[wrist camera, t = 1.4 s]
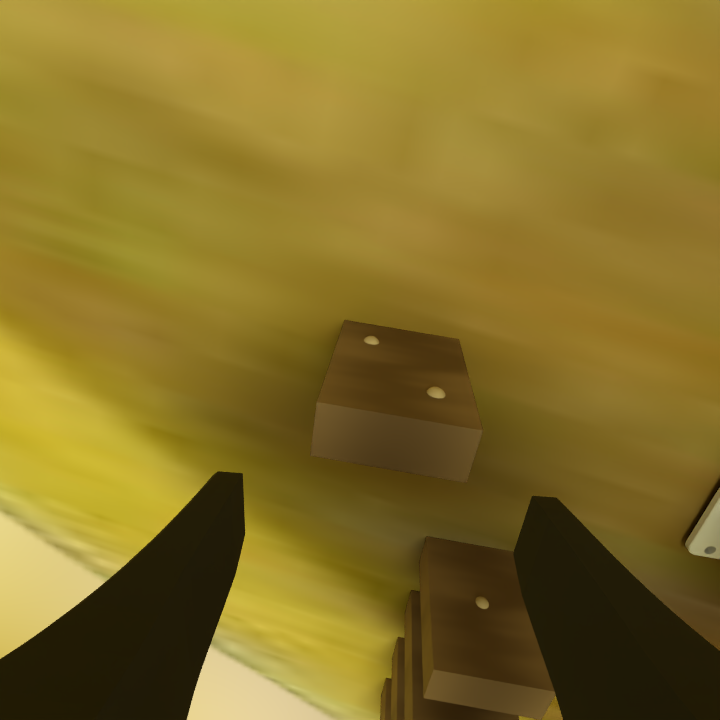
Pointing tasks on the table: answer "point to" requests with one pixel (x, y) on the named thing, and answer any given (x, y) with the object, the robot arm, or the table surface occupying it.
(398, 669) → the tile
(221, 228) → the table surface
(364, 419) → the tile
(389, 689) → the tile
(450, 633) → the tile
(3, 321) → the table surface
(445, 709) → the tile
